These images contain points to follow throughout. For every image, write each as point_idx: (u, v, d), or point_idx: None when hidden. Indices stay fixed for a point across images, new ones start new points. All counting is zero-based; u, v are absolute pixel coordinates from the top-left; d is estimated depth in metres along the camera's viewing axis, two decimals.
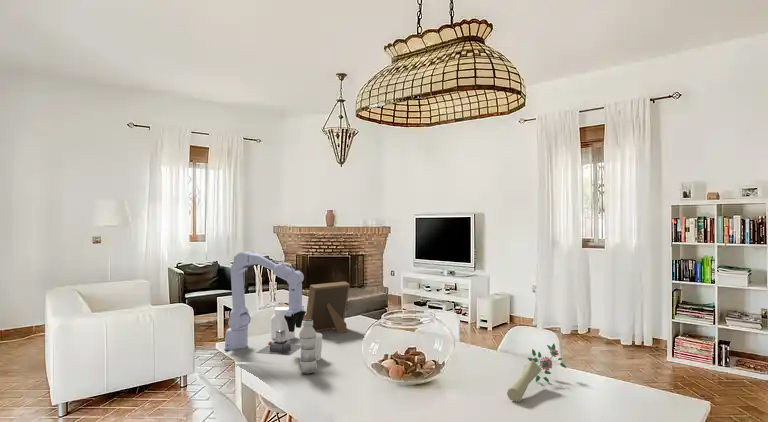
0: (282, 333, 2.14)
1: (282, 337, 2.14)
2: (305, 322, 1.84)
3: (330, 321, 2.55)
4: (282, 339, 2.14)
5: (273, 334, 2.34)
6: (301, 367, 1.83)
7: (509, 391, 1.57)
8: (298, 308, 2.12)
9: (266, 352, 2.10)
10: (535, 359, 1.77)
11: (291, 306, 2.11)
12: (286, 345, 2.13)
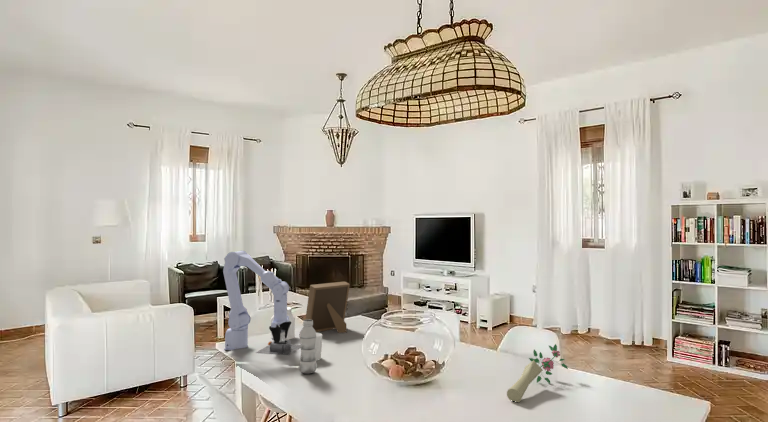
0: (282, 333, 2.14)
1: (282, 337, 2.14)
2: (305, 322, 1.84)
3: (330, 321, 2.55)
4: (282, 339, 2.14)
5: None
6: (301, 367, 1.83)
7: (509, 391, 1.57)
8: (283, 319, 2.13)
9: (266, 352, 2.10)
10: (536, 360, 1.76)
11: (277, 317, 2.13)
12: (286, 345, 2.13)
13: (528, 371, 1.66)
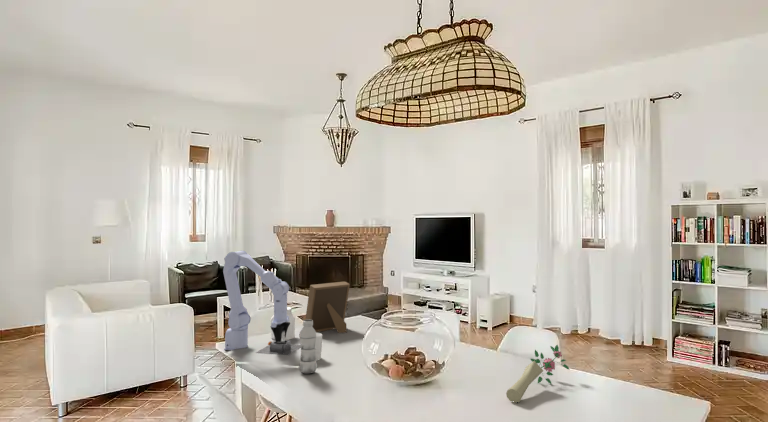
0: (282, 333, 2.14)
1: (282, 337, 2.14)
2: (305, 322, 1.84)
3: (330, 321, 2.55)
4: (282, 339, 2.14)
5: (273, 334, 2.34)
6: (301, 367, 1.83)
7: (508, 392, 1.57)
8: (283, 319, 2.13)
9: (266, 352, 2.10)
10: (537, 360, 1.76)
11: (277, 317, 2.13)
12: (286, 345, 2.13)
13: (528, 371, 1.66)
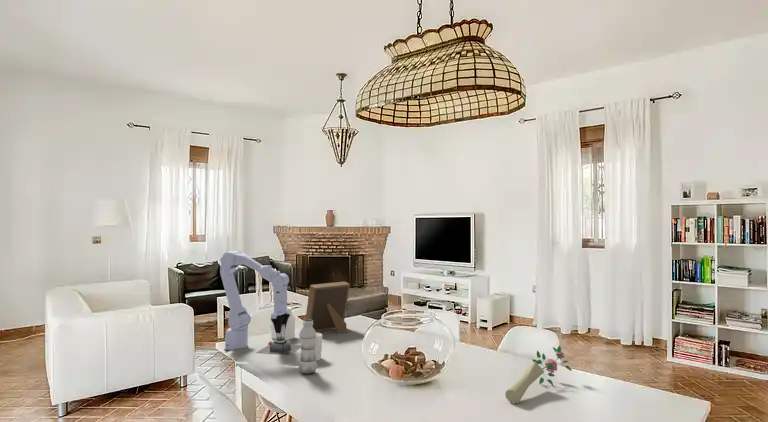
0: (282, 327, 2.14)
1: (282, 331, 2.14)
2: (305, 322, 1.84)
3: (330, 321, 2.55)
4: (282, 333, 2.14)
5: (273, 334, 2.34)
6: (301, 367, 1.83)
7: (507, 392, 1.56)
8: (283, 310, 2.13)
9: (266, 352, 2.10)
10: (539, 361, 1.75)
11: (277, 308, 2.13)
12: (286, 345, 2.13)
13: (529, 372, 1.65)
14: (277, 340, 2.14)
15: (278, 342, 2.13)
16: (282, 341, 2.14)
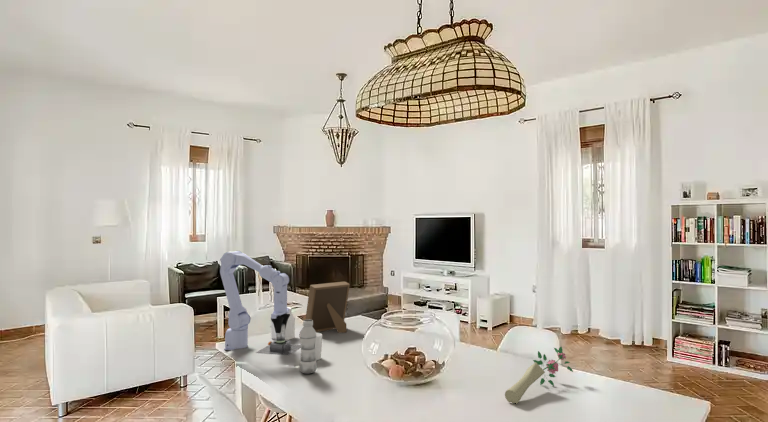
0: (282, 327, 2.14)
1: (282, 331, 2.14)
2: (305, 322, 1.84)
3: (330, 321, 2.55)
4: (282, 333, 2.14)
5: (273, 334, 2.34)
6: (301, 367, 1.83)
7: (507, 393, 1.56)
8: (283, 310, 2.13)
9: (266, 352, 2.10)
10: (540, 362, 1.74)
11: (276, 308, 2.13)
12: (286, 345, 2.13)
13: (529, 373, 1.64)
14: (277, 340, 2.14)
15: (278, 342, 2.13)
16: (282, 341, 2.14)
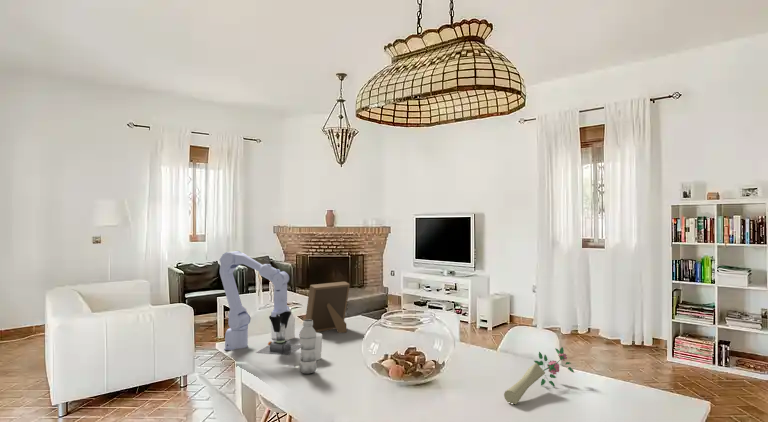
0: (282, 327, 2.14)
1: (282, 331, 2.14)
2: (305, 322, 1.84)
3: (330, 321, 2.55)
4: (282, 333, 2.14)
5: (273, 334, 2.34)
6: (301, 367, 1.83)
7: (506, 393, 1.56)
8: (283, 309, 2.13)
9: (266, 352, 2.10)
10: (541, 362, 1.73)
11: (277, 307, 2.13)
12: (286, 345, 2.13)
13: (529, 373, 1.64)
14: (277, 340, 2.14)
15: (278, 342, 2.13)
16: (282, 341, 2.14)
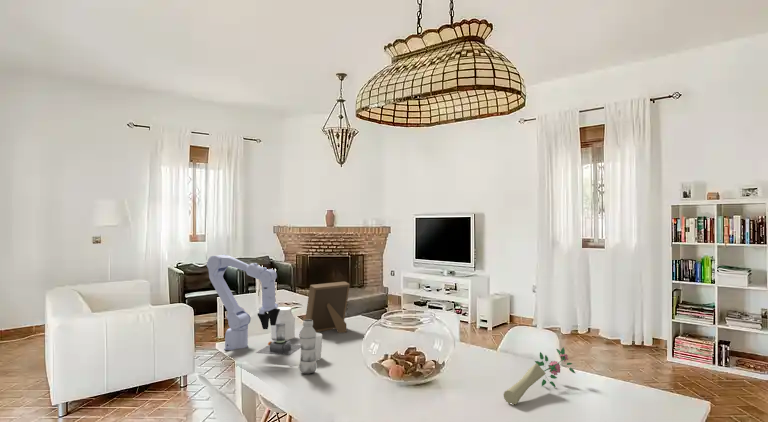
0: (282, 327, 2.14)
1: (282, 331, 2.14)
2: (305, 322, 1.84)
3: (330, 321, 2.55)
4: (282, 333, 2.14)
5: (273, 334, 2.34)
6: (301, 367, 1.83)
7: (505, 393, 1.55)
8: (271, 306, 2.15)
9: (266, 352, 2.10)
10: (541, 363, 1.73)
11: (265, 304, 2.14)
12: (286, 345, 2.13)
13: (529, 374, 1.63)
14: (277, 340, 2.14)
15: (278, 342, 2.13)
16: (282, 341, 2.14)
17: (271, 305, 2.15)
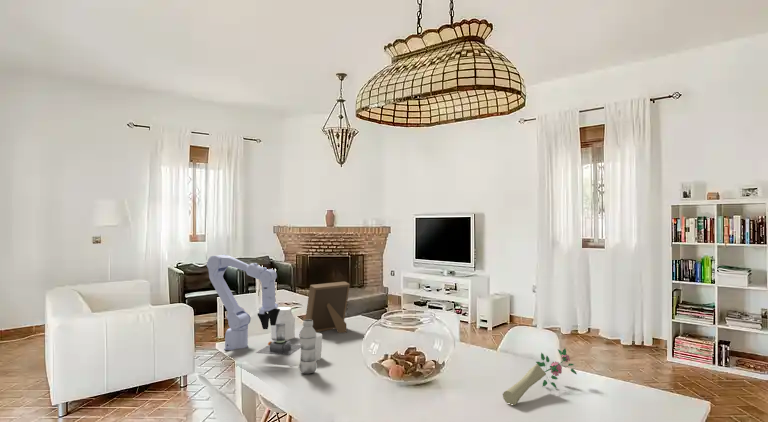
0: (282, 327, 2.14)
1: (282, 331, 2.14)
2: (305, 322, 1.84)
3: (330, 321, 2.55)
4: (282, 333, 2.14)
5: (273, 334, 2.34)
6: (301, 367, 1.83)
7: (505, 394, 1.55)
8: (271, 306, 2.15)
9: (266, 352, 2.10)
10: (542, 363, 1.72)
11: (265, 304, 2.14)
12: (286, 345, 2.13)
13: (529, 374, 1.63)
14: (277, 340, 2.14)
15: (278, 342, 2.13)
16: (282, 341, 2.14)
17: (271, 305, 2.15)
